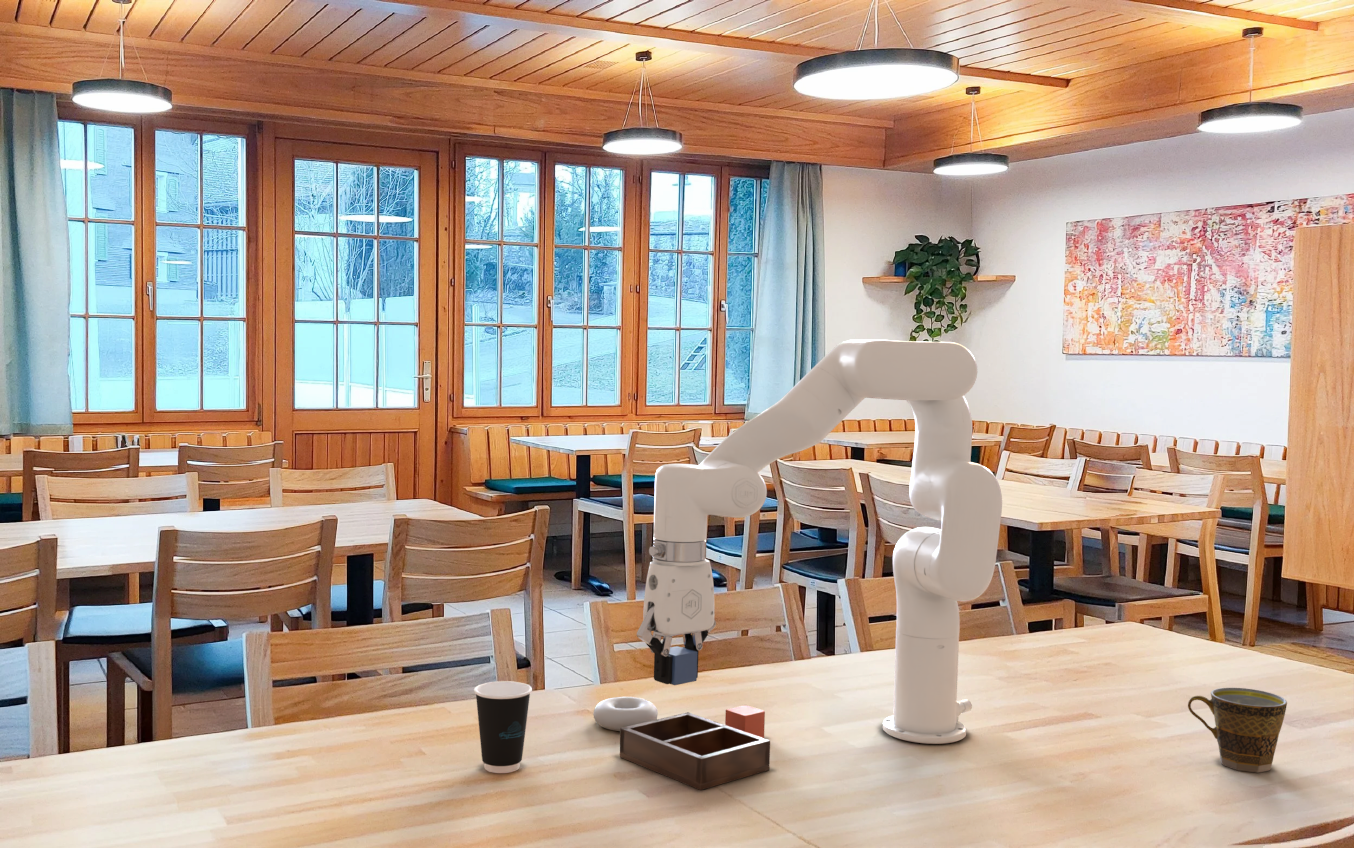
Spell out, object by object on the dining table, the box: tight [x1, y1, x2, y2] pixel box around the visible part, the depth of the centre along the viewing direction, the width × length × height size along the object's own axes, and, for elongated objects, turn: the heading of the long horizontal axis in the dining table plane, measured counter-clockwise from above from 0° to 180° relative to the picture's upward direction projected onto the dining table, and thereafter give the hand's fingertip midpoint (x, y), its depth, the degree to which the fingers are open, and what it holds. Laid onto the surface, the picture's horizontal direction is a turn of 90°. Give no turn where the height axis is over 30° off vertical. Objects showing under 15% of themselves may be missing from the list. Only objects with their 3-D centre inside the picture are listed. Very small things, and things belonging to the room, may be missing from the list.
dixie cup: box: [473, 680, 533, 774], centre depth 171 cm, size 8×8×11 cm
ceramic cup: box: [1187, 687, 1288, 773], centre depth 180 cm, size 13×10×10 cm
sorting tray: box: [619, 711, 771, 791], centre depth 174 cm, size 13×17×4 cm
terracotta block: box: [724, 704, 766, 739], centre depth 187 cm, size 4×4×4 cm
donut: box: [592, 696, 659, 732], centre depth 192 cm, size 10×4×10 cm
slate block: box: [669, 645, 698, 686], centre depth 177 cm, size 4×4×4 cm
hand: (675, 677), depth 177 cm, fingers closed on slate block, 4 cm apart
